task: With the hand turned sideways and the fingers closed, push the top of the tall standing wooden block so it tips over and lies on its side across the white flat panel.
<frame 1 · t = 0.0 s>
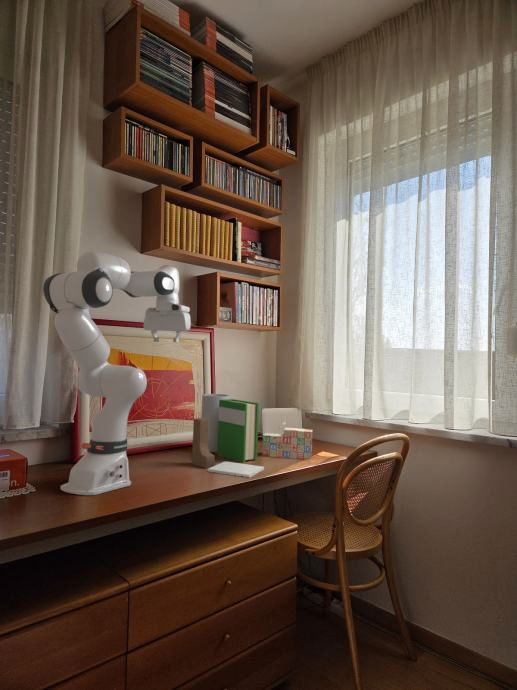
hand: (165, 342, 182), 48 cm above the table, tool pointing down, fingers open, 8 cm apart
hardback book: (236, 458, 196), on the table
white flat panel: (236, 470, 174), on the table
wooden block: (203, 466, 180), on the table
stack of blocks: (287, 457, 202), on the table
cylinder vase: (213, 450, 211), on the table
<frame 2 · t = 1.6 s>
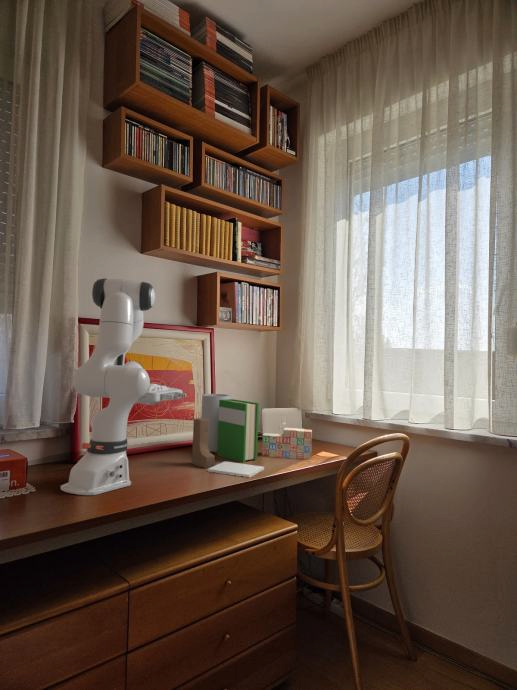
hand: (179, 396, 185), 26 cm above the table, tool horizontal, fingers open, 7 cm apart
nothing on the table moved.
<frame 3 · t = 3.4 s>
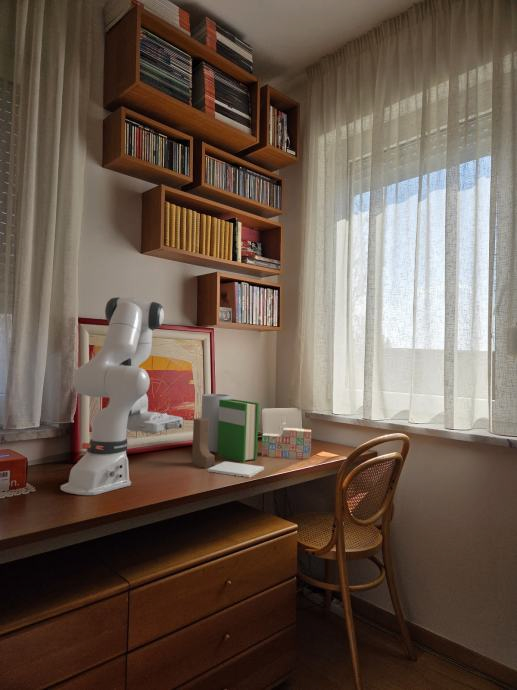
hand: (180, 425, 185), 14 cm above the table, tool horizontal, fingers closed
nothing on the table moved.
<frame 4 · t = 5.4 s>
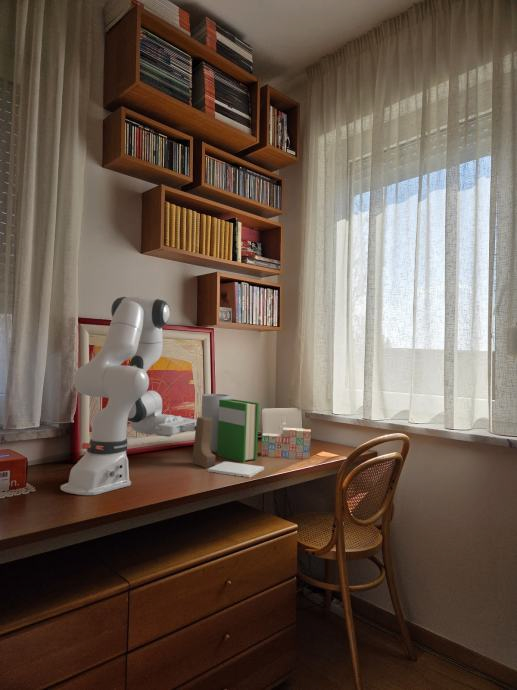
hand: (196, 428, 182), 14 cm above the table, tool horizontal, fingers closed
wooden block: (203, 465, 180), on the table, touching gripper
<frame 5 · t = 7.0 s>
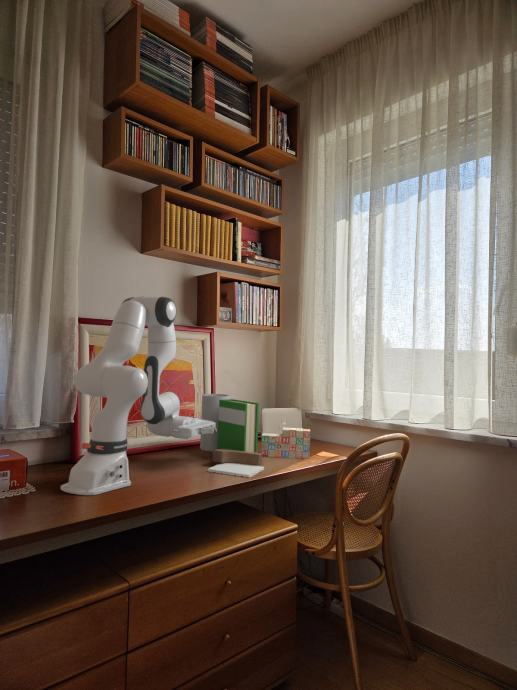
hand: (214, 430, 179), 14 cm above the table, tool horizontal, fingers closed
wooden block: (215, 454, 184), point 3 cm above the table, touching white flat panel
everything else where it was.
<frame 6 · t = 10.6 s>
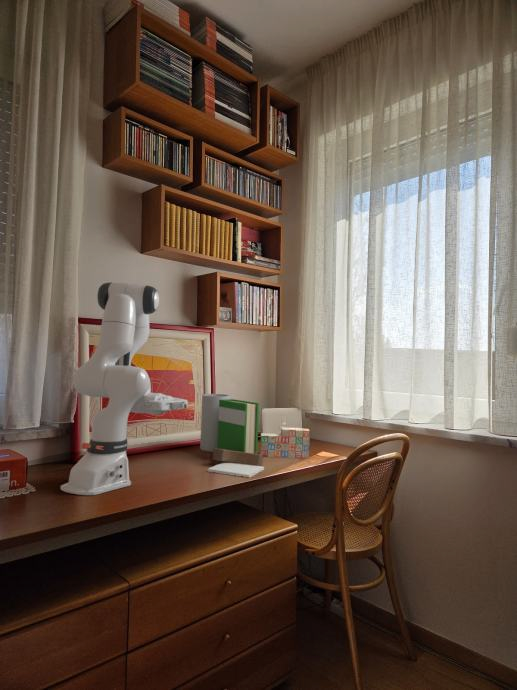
hand: (185, 406, 184), 23 cm above the table, tool horizontal, fingers closed
wooden block: (216, 454, 185), point 4 cm above the table, touching white flat panel
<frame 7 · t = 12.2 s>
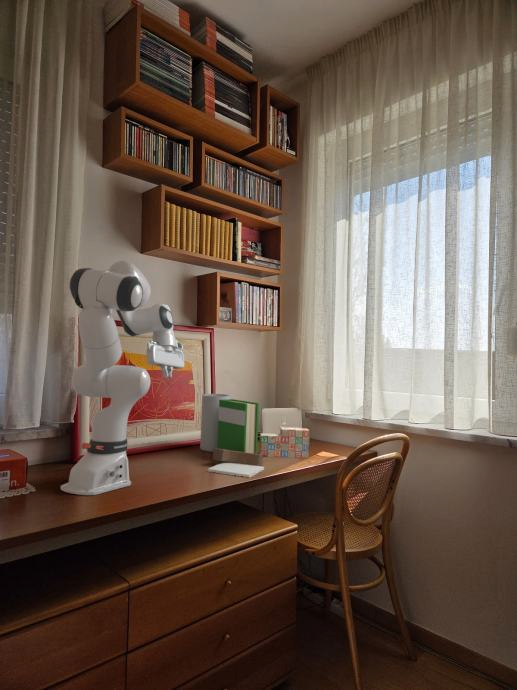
hand: (167, 377, 181), 34 cm above the table, tool tilted 15°, fingers closed
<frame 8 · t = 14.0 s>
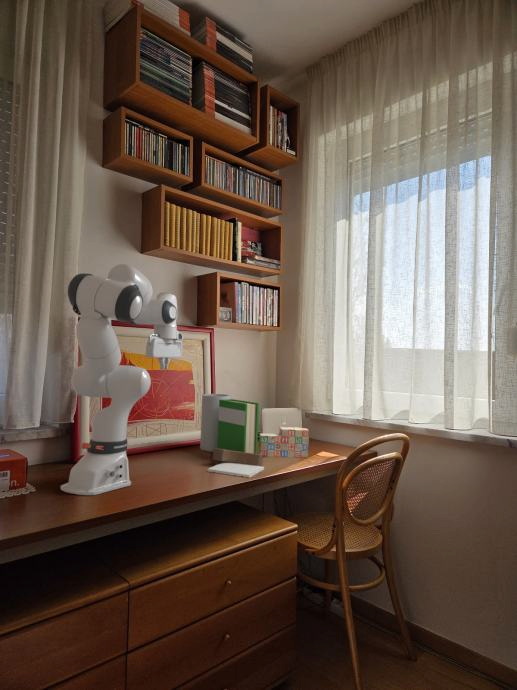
hand: (163, 369, 182), 37 cm above the table, tool pointing down, fingers closed
at the end: wooden block tilted 91°; wooden block touching white flat panel, table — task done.
